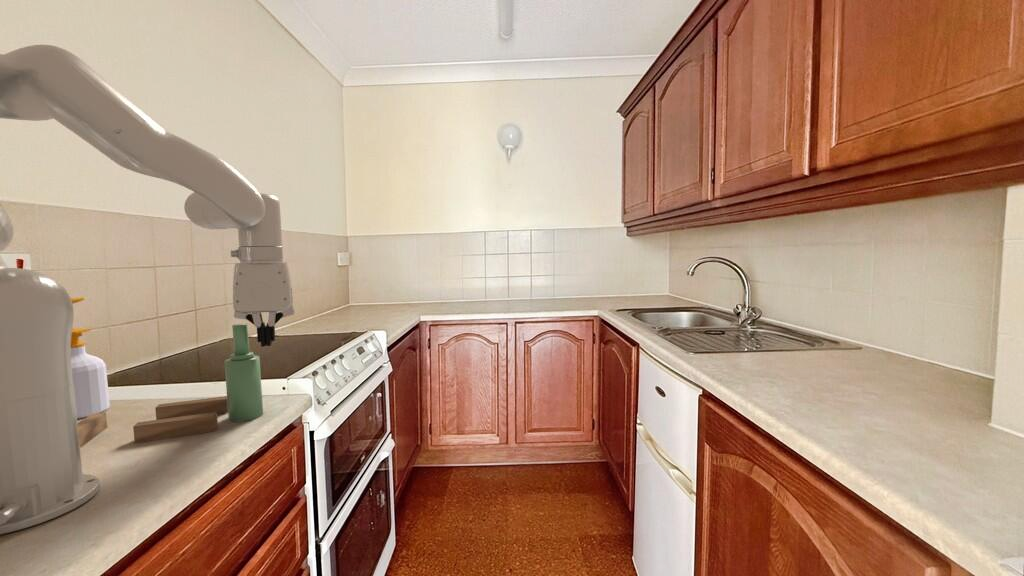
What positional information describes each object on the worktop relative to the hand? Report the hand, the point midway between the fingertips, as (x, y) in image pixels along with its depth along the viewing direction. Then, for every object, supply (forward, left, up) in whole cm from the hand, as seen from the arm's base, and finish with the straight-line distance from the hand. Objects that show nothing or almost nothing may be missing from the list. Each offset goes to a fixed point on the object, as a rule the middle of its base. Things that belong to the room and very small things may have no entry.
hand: (266, 344), depth 87 cm
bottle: (0, +4, -15) cm, 15 cm away
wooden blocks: (0, +19, -14) cm, 24 cm away
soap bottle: (+17, +37, -15) cm, 44 cm away
